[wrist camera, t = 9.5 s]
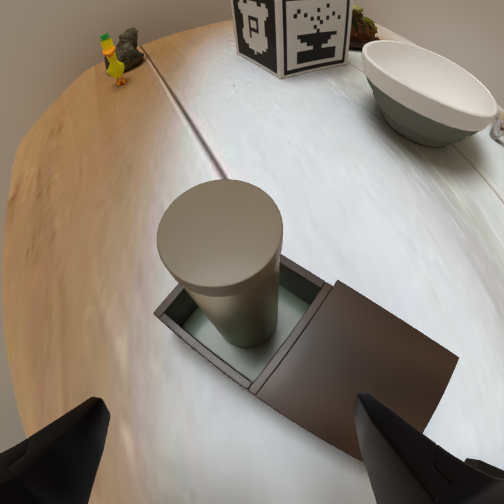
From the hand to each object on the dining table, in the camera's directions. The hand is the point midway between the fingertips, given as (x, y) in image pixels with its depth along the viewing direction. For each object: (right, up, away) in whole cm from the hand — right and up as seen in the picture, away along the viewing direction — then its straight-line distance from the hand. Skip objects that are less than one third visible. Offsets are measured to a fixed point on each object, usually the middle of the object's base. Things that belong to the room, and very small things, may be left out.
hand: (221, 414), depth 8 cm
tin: (+1, 0, +14) cm, 14 cm away
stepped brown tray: (+5, -3, +12) cm, 14 cm away
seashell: (-29, +47, +42) cm, 69 cm away
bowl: (+25, +24, +26) cm, 43 cm away
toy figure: (-25, +39, +38) cm, 59 cm away
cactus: (+23, +54, +42) cm, 73 cm away
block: (+8, +42, +37) cm, 56 cm away
